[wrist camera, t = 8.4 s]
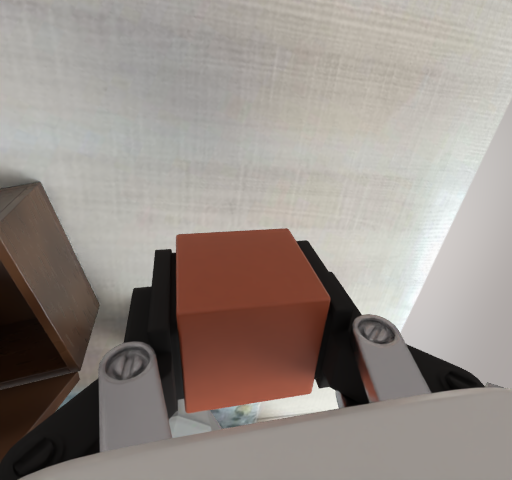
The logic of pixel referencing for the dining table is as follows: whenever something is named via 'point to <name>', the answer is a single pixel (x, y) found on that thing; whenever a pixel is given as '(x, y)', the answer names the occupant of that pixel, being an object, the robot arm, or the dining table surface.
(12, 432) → the lid
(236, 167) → the dining table surface
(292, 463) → the robot arm
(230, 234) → the block
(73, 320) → the wooden trinket chest
